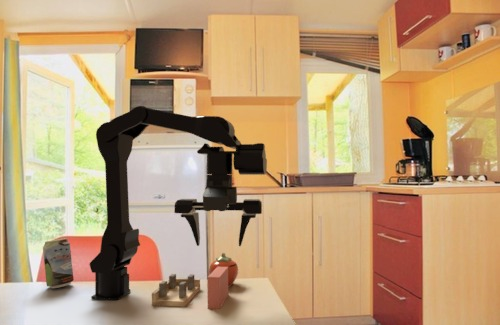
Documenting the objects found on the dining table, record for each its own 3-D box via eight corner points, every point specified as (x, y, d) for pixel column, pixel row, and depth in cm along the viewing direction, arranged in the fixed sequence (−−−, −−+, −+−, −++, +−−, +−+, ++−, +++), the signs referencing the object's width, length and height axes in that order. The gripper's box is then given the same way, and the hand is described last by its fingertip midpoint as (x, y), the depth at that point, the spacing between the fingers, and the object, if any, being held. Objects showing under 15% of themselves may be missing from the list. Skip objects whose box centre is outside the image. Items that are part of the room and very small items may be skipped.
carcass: (151, 305, 79) (151, 286, 79) (171, 288, 91) (171, 271, 91) (184, 306, 78) (184, 287, 78) (200, 289, 90) (200, 272, 90)
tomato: (231, 290, 88) (230, 256, 89) (203, 287, 91) (203, 254, 91) (242, 282, 95) (242, 251, 96) (216, 279, 98) (216, 249, 98)
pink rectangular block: (219, 309, 76) (219, 277, 77) (207, 308, 77) (207, 277, 77) (228, 295, 85) (228, 266, 86) (217, 295, 86) (217, 266, 86)
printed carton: (62, 291, 89) (62, 241, 90) (36, 289, 91) (36, 240, 91) (79, 283, 95) (79, 236, 96) (54, 282, 97) (54, 236, 97)
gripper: (168, 174, 75) (167, 252, 74) (261, 174, 74) (261, 254, 73) (180, 174, 86) (180, 242, 85) (261, 174, 85) (261, 243, 84)
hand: (219, 245), depth 82 cm, fingers open, 9 cm apart
